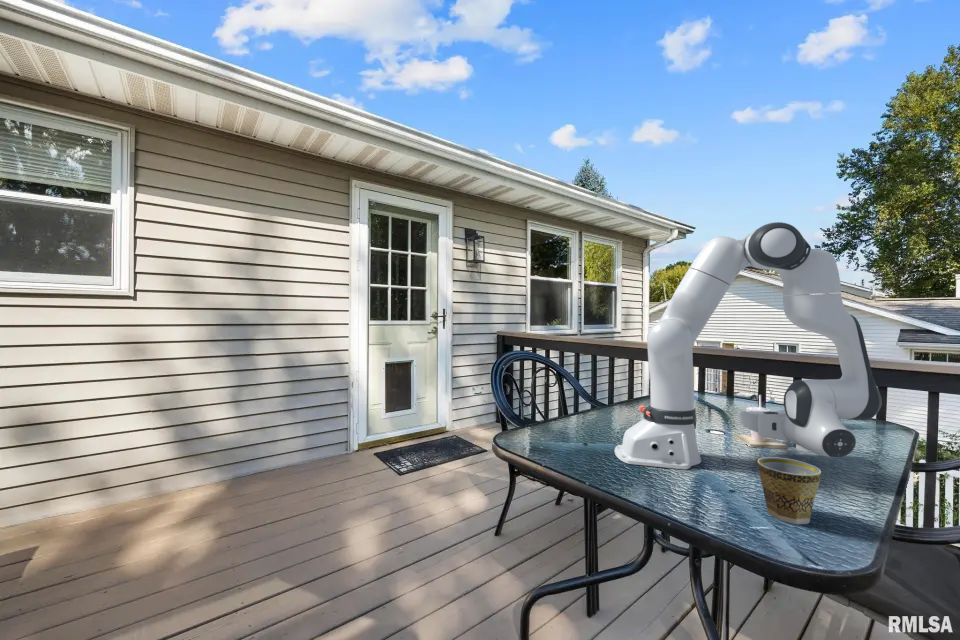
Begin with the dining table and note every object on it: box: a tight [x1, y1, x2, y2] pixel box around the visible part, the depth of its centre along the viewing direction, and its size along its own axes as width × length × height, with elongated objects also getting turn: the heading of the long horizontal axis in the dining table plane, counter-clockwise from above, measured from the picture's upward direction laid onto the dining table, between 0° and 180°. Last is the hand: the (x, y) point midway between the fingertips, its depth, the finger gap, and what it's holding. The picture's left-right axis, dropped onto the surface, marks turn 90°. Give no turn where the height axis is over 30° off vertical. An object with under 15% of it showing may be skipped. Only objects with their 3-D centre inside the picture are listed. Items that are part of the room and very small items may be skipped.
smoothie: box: [745, 394, 772, 442], centre depth 125 cm, size 6×6×14 cm
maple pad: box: [733, 434, 788, 450], centre depth 125 cm, size 10×10×1 cm
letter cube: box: [795, 444, 810, 452], centre depth 119 cm, size 5×5×5 cm
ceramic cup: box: [755, 456, 822, 525], centre depth 80 cm, size 13×10×10 cm
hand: (766, 414), depth 121 cm, fingers open, 8 cm apart
